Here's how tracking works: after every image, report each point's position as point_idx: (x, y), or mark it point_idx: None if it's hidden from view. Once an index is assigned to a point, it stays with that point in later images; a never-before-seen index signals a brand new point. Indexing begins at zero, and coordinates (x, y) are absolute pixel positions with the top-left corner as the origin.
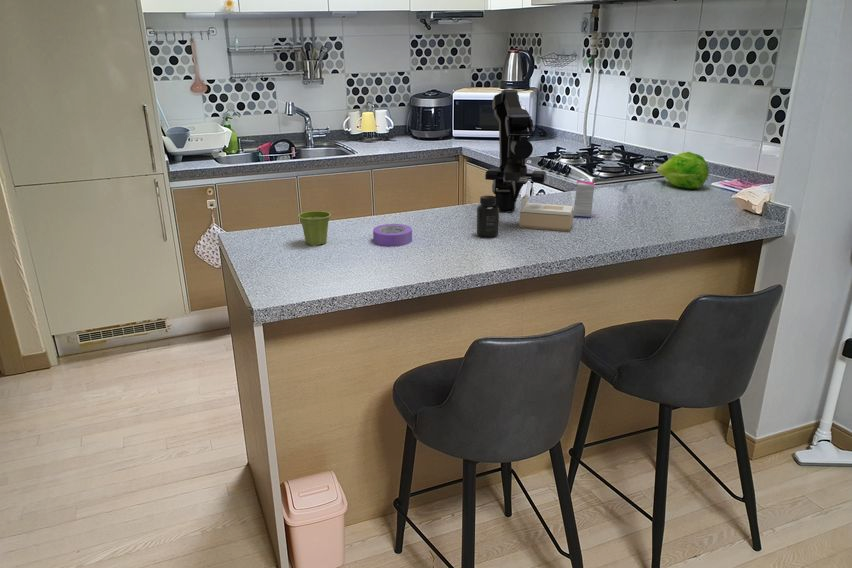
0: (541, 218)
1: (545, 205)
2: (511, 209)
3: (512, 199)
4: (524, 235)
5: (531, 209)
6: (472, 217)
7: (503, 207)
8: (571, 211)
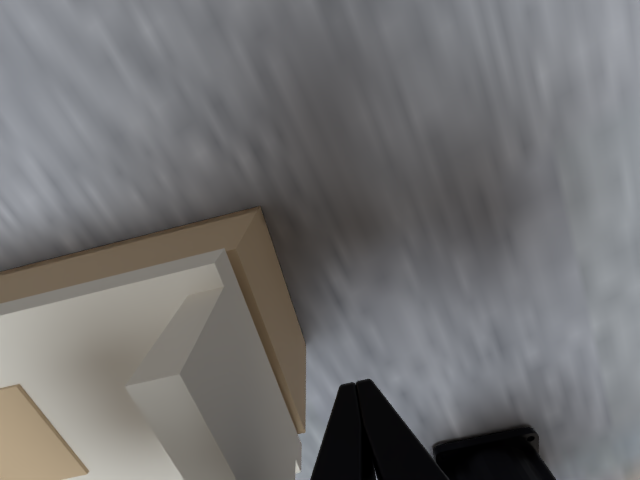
0: (54, 279)
1: (79, 473)
2: (444, 470)
3: (385, 399)
4: (110, 16)
5: (90, 296)
6: (632, 269)
7: (492, 464)
8: None
